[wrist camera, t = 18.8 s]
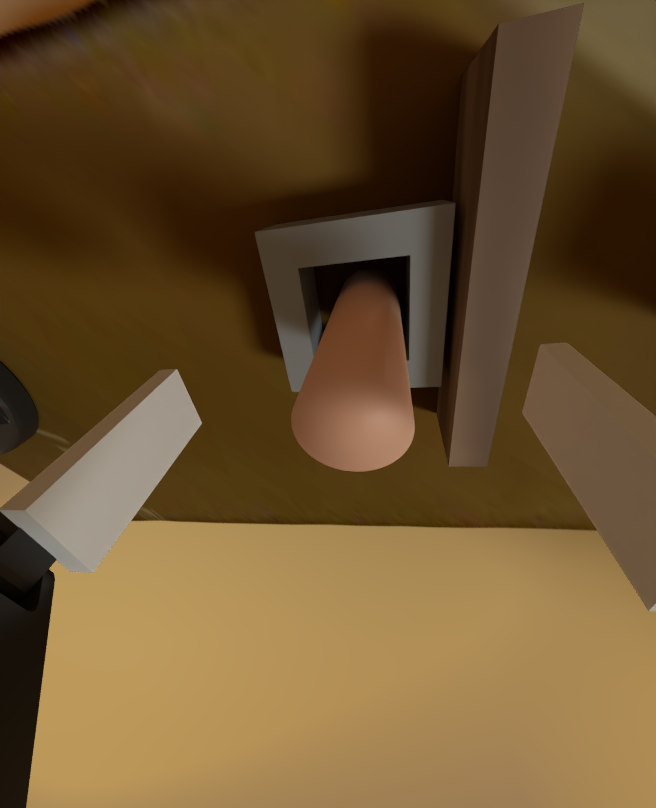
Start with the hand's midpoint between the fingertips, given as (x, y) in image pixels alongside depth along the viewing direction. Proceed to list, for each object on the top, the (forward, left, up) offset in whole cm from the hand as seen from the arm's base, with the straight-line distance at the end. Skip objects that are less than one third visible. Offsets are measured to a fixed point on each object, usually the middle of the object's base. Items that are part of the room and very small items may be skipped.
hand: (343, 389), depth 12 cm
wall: (+4, +5, -12) cm, 14 cm away
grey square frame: (0, 0, -12) cm, 12 cm away
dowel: (0, 0, -12) cm, 12 cm away
